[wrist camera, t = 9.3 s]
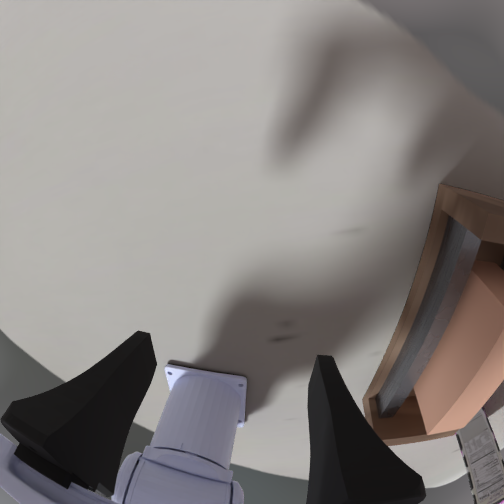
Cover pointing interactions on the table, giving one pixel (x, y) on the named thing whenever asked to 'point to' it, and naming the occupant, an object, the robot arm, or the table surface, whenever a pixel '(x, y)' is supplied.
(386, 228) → the table surface
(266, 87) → the table surface
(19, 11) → the table surface
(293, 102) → the table surface
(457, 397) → the salmon orange block
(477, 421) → the candy bar box
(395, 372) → the track base
